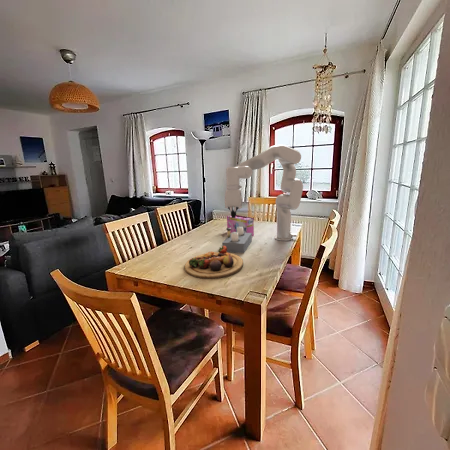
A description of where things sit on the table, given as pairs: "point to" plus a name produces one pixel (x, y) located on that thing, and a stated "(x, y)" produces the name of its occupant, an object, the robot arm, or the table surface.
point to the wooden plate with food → (214, 264)
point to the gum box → (241, 224)
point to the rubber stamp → (228, 232)
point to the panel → (238, 243)
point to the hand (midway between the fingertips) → (233, 217)
